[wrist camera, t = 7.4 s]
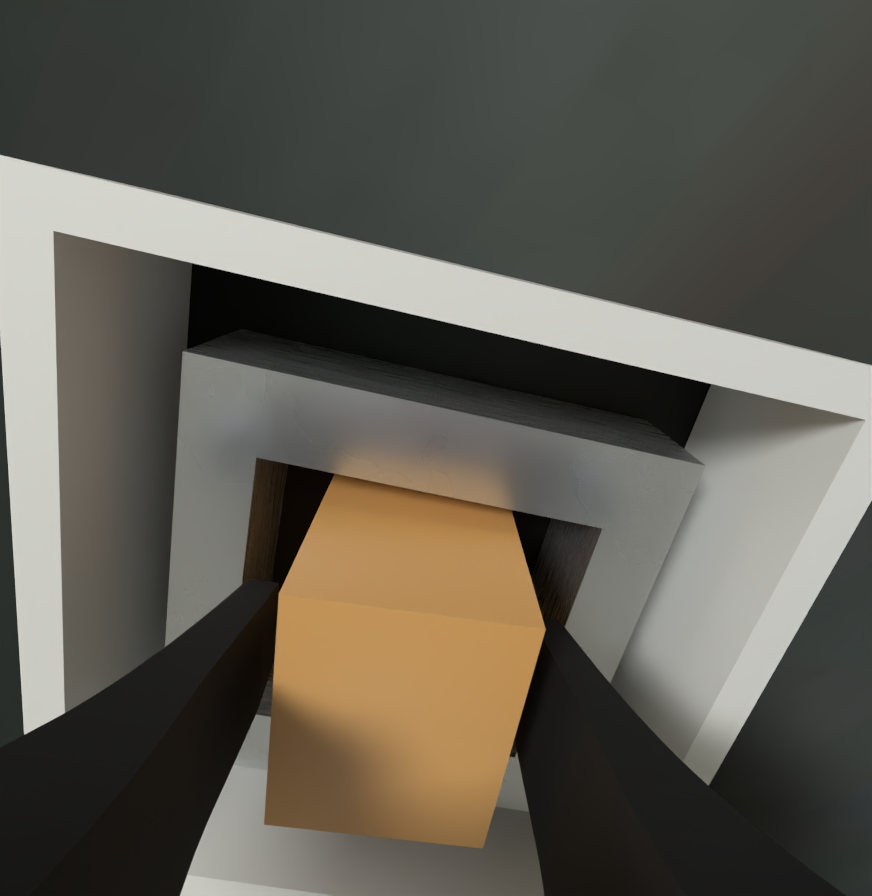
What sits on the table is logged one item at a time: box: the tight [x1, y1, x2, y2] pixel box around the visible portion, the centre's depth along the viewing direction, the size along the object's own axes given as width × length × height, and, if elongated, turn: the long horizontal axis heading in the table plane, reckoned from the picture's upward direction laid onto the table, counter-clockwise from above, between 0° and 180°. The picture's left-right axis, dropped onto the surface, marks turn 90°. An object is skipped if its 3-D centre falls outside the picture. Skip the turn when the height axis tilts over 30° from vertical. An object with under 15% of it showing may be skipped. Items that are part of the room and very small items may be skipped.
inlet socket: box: [165, 329, 705, 812], centre depth 13 cm, size 10×10×3 cm
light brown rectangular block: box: [264, 474, 546, 849], centre depth 11 cm, size 4×5×6 cm
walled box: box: [0, 155, 872, 896], centre depth 12 cm, size 14×15×4 cm
